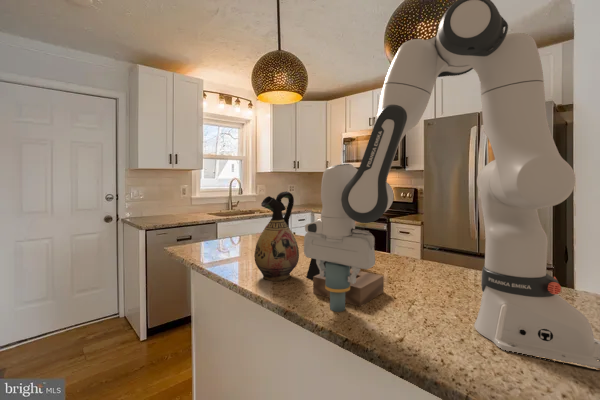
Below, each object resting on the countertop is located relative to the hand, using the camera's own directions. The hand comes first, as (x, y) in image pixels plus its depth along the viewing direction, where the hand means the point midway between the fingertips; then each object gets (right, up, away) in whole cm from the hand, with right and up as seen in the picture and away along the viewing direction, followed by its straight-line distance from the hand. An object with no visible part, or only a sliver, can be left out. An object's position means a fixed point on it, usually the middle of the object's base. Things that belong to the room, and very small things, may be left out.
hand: (337, 279), depth 83 cm
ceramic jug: (-17, -6, +28) cm, 34 cm away
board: (+5, -7, +12) cm, 15 cm away
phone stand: (-2, -6, +27) cm, 28 cm away
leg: (0, -8, +1) cm, 8 cm away
